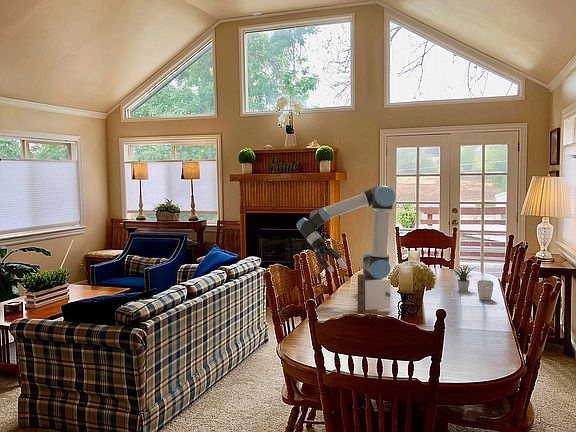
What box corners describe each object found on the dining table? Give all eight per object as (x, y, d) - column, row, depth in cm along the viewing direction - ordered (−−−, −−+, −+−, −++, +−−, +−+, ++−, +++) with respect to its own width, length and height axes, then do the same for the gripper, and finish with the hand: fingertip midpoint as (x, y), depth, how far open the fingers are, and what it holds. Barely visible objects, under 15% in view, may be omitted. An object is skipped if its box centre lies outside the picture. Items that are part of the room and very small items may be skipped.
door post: (360, 312, 266) (360, 274, 265) (365, 313, 264) (365, 274, 263) (357, 313, 264) (357, 274, 263) (362, 314, 262) (362, 275, 261)
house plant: (474, 288, 322) (474, 262, 320) (480, 292, 308) (480, 265, 307) (450, 287, 323) (451, 261, 322) (455, 292, 309) (456, 265, 308)
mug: (495, 302, 285) (495, 284, 284) (479, 301, 286) (479, 284, 286) (491, 297, 296) (491, 280, 295) (476, 297, 297) (476, 280, 297)
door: (389, 307, 270) (389, 279, 269) (391, 309, 267) (391, 280, 265) (363, 309, 267) (363, 280, 266) (365, 310, 264) (366, 281, 263)
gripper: (324, 243, 306) (346, 270, 298) (299, 248, 286) (322, 277, 278) (331, 234, 302) (354, 262, 294) (307, 239, 282) (331, 268, 274)
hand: (339, 269), depth 286 cm, fingers open, 13 cm apart
